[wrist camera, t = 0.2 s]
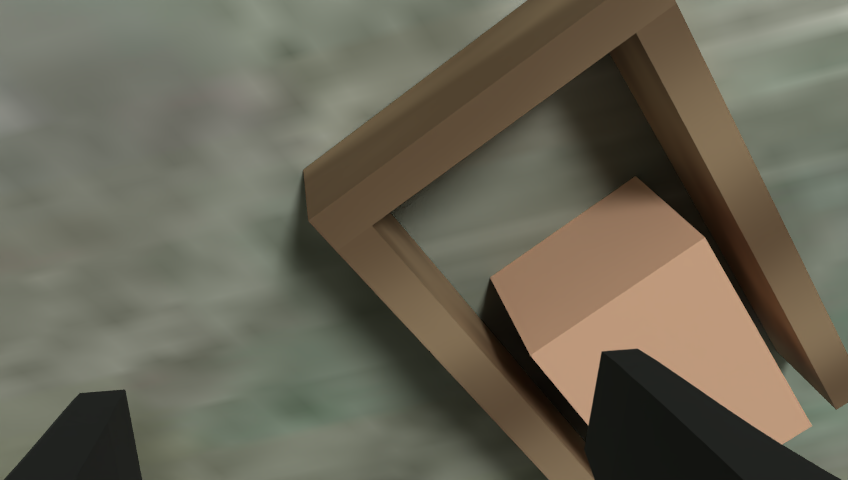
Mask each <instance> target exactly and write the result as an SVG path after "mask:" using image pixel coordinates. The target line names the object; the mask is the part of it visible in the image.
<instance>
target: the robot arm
mask: <svg viewBox="0 0 848 480" xmlns="http://www.w3.org/2000/svg"><path fill="white" fill-rule="evenodd" d="M584 450H585V453H586V456H587V459H588V462H589V465H590V468H591V470H592V473H593V476H594V479H595V480H841V479H839V478H837V477H836V476H834V475H832V474H830V473H828V472H827V471H825V470H823V469H821V468H820V467H818V466H817V465H815V464H813V463H812V462H810V461H808V460H807V459H805V458H803V457H802V456H800V455H798V454H797V453H795V452H793V451H792V450H790V449H788V448H787V447H785V446H783V445H782V444H780V443H779V442H777V441H776V440H774V439H772V438H771V437H769V436H768V435H766V434H765V433H763V432H761V431H760V430H758V429H757V428H755V427H754V426H752V425H751V424H749V423H748V422H746V421H745V420H743V419H742V418H740V417H739V416H737V415H736V414H734V413H733V412H731V411H730V410H728V409H727V408H725V407H724V406H722V405H721V404H719V403H718V402H716V401H715V400H714V399H712V398H711V397H709V396H708V395H706V394H705V393H703V392H702V391H700V390H699V389H698V388H696V387H695V386H693V385H692V384H690V383H689V382H687V381H686V380H685V379H683V378H682V377H680V376H679V375H677V374H676V373H674V372H673V371H671V370H670V369H669V368H667V367H666V366H664V365H663V364H661V363H660V362H658V361H657V360H655V359H654V358H652V357H650V356H649V355H647V354H646V353H644V352H642V351H641V350H639V349H625V350H613V351H602V352H601V358H600V363H599V369H598V375H597V380H596V386H595V391H594V397H593V403H592V408H591V414H590V419H589V425H588V431H587V436H586V442H585V447H584ZM4 480H142V477H141V471H140V466H139V461H138V455H137V450H136V445H135V439H134V434H133V429H132V423H131V418H130V413H129V407H128V402H127V397H126V391H125V390H114V391H102V392H89V393H80V394H79V395H78V396H77V397H76V398H75V399H74V400H73V401H72V402H71V403H70V404H69V405H68V406H67V408H66V409H65V410H64V411H63V412H62V413H61V415H60V416H59V417H58V418H57V419H56V420H55V422H54V423H53V424H52V425H51V426H50V428H49V429H48V430H47V431H46V432H45V433H44V435H43V436H42V437H41V438H40V439H39V440H38V442H37V443H36V444H35V445H34V446H33V447H32V449H31V450H30V451H29V452H28V453H27V454H26V455H25V457H24V458H23V459H22V460H21V461H20V462H19V463H18V465H17V466H16V467H15V468H14V469H13V470H12V471H11V472H10V474H9V475H8V476H7V477H6V478H5V479H4Z"/></svg>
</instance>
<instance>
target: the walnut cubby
mask: <svg viewBox="0 0 848 480" xmlns="http://www.w3.org/2000/svg"><path fill="white" fill-rule="evenodd" d="M608 53H610V55H611V57H612V59H613V60H614V62H615V64H616V66H617V67H618V69H619V71H620V73H621V75H622V76H623V78H624V80H625V82H626V84H627V85H628V87H629V89H630V91H631V92H632V94H633V96H634V98H635V100H636V101H637V103H638V105H639V107H640V108H641V110H642V112H643V114H644V116H645V117H646V119H647V121H648V123H649V124H650V126H651V128H652V130H653V132H654V133H655V135H656V137H657V139H658V141H659V142H660V144H661V146H662V148H663V149H664V151H665V153H666V155H667V157H668V158H669V160H670V162H671V164H672V165H673V167H674V169H675V171H676V173H677V174H678V176H679V178H680V180H681V182H682V183H683V185H684V187H685V189H686V190H687V192H688V194H689V196H690V198H691V199H692V201H693V203H694V205H695V206H696V208H697V210H698V212H699V214H700V215H701V217H702V219H703V221H704V222H705V224H706V226H707V228H708V230H709V231H710V233H711V235H712V237H713V239H714V240H715V242H716V244H717V246H718V247H719V249H720V251H721V253H722V255H723V256H724V258H725V260H726V262H727V263H728V265H729V267H730V269H731V271H732V272H733V274H734V276H735V278H736V279H737V281H738V283H739V285H740V287H741V288H742V290H743V292H744V294H745V296H746V297H747V299H748V301H749V303H750V304H751V306H752V308H753V310H754V312H755V313H756V315H757V317H758V319H759V320H760V322H761V324H762V326H763V328H764V329H765V331H766V333H767V335H768V336H769V338H770V340H771V342H772V344H773V345H774V347H775V349H776V351H777V352H778V353H779V354H780V355H781V356H782V357H783V358H784V359H785V360H786V361H787V362H788V363H789V364H790V365H791V366H792V367H793V368H794V369H795V370H796V371H797V372H798V373H800V374H801V375H802V376H803V377H804V378H805V379H806V380H807V381H808V382H809V383H810V384H811V385H812V386H813V387H814V388H815V389H816V390H817V391H818V392H819V393H820V394H821V395H822V396H823V397H824V398H825V399H826V400H827V401H828V402H829V403H830V404H831V405H832V406H833V407H834V408H835V409H836V410H837V409H838V408H840V407H841V406H843V405H845V404H846V403H848V354H847V352H846V350H845V348H844V346H843V344H842V342H841V340H840V338H839V336H838V333H837V331H836V329H835V327H834V325H833V323H832V321H831V319H830V317H829V315H828V313H827V311H826V309H825V307H824V305H823V303H822V301H821V299H820V297H819V295H818V292H817V290H816V288H815V286H814V284H813V282H812V280H811V278H810V276H809V274H808V272H807V270H806V268H805V266H804V264H803V262H802V260H801V258H800V256H799V253H798V251H797V249H796V247H795V245H794V243H793V241H792V239H791V237H790V235H789V233H788V231H787V229H786V227H785V225H784V223H783V221H782V219H781V217H780V215H779V212H778V210H777V208H776V206H775V204H774V202H773V200H772V198H771V196H770V194H769V192H768V190H767V188H766V186H765V184H764V182H763V180H762V178H761V176H760V174H759V171H758V169H757V167H756V165H755V163H754V161H753V159H752V157H751V155H750V153H749V151H748V149H747V147H746V145H745V143H744V141H743V139H742V137H741V135H740V132H739V130H738V128H737V126H736V124H735V122H734V120H733V118H732V116H731V114H730V112H729V110H728V108H727V106H726V104H725V102H724V100H723V98H722V96H721V94H720V91H719V89H718V87H717V85H716V83H715V81H714V79H713V77H712V75H711V73H710V71H709V69H708V67H707V65H706V63H705V61H704V59H703V57H702V55H701V52H700V50H699V48H698V46H697V44H696V42H695V40H694V38H693V36H692V34H691V32H690V30H689V28H688V26H687V24H686V22H685V20H684V18H683V16H682V14H681V11H680V9H679V7H678V5H677V3H676V1H675V0H527V1H526V2H525V3H523V4H522V5H521V6H519V7H518V8H517V9H515V10H514V11H513V12H511V13H510V14H509V15H507V16H506V17H505V18H503V19H502V20H501V21H499V22H498V23H497V24H495V25H494V26H493V27H492V28H490V29H489V30H488V31H486V32H485V33H484V34H482V35H481V36H480V37H478V38H477V39H476V40H474V41H473V42H472V43H470V44H469V45H468V46H466V47H465V48H464V49H462V50H461V51H460V52H458V53H457V54H456V55H454V56H453V57H452V58H450V59H449V60H448V61H447V62H445V63H444V64H443V65H441V66H440V67H439V68H437V69H436V70H435V71H433V72H432V73H431V74H429V75H428V76H427V77H425V78H424V79H423V80H421V81H420V82H419V83H417V84H416V85H415V86H413V87H412V88H411V89H409V90H408V91H407V92H405V93H404V94H403V95H402V96H400V97H399V98H398V99H396V100H395V101H394V102H392V103H391V104H390V105H388V106H387V107H386V108H384V109H383V110H382V111H380V112H379V113H378V114H376V115H375V116H374V117H372V118H371V119H370V120H368V121H367V122H366V123H364V124H363V125H362V126H360V127H359V128H358V129H357V130H355V131H354V132H353V133H351V134H350V135H349V136H347V137H346V138H345V139H343V140H342V141H341V142H339V143H338V144H337V145H335V146H334V147H333V148H331V149H330V150H329V151H327V152H326V153H325V154H323V155H322V156H321V157H319V158H318V159H317V160H315V161H314V162H313V163H312V164H310V165H309V166H308V167H306V168H305V169H304V170H303V172H304V182H305V193H306V203H307V213H308V221H309V222H310V223H311V224H312V226H313V227H314V228H315V229H316V230H317V231H318V232H319V233H320V234H321V235H322V236H323V237H324V238H325V239H326V241H327V242H328V243H329V244H330V245H331V246H332V247H333V248H334V249H335V250H336V251H337V252H338V253H339V255H340V256H341V257H342V258H343V259H344V260H345V261H346V262H347V263H348V264H349V265H350V266H351V267H352V268H353V270H354V271H355V272H356V273H357V274H358V275H359V276H360V277H361V278H362V279H363V280H364V281H365V282H366V284H367V285H368V286H369V287H370V288H371V289H372V290H373V291H374V292H375V293H376V294H377V295H378V296H379V298H380V299H381V300H382V301H383V302H384V303H385V304H386V305H387V306H388V307H389V308H390V309H391V310H392V311H393V313H394V314H395V315H396V316H397V317H398V318H399V319H400V320H401V321H402V322H403V323H404V324H405V325H406V327H407V328H408V329H409V330H410V331H411V332H412V333H413V334H414V335H415V336H416V337H417V338H418V339H419V340H420V342H421V343H422V344H423V345H424V346H425V347H426V348H427V349H428V350H429V351H430V352H431V353H432V354H433V356H434V357H435V358H436V359H437V360H438V361H439V362H440V363H441V364H442V365H443V366H444V367H445V368H446V369H447V371H448V372H449V373H450V374H451V375H452V376H453V377H454V378H455V379H456V380H457V381H458V382H459V383H460V385H461V386H462V387H463V388H464V389H465V390H466V391H467V392H468V393H469V394H470V395H471V396H472V397H473V399H474V400H475V401H476V402H477V403H478V404H479V405H480V406H481V407H482V408H483V409H484V410H485V411H486V412H487V414H488V415H489V416H490V417H491V418H492V419H493V420H494V421H495V422H496V423H497V424H498V425H499V426H500V428H501V429H502V430H503V431H504V432H505V433H506V434H507V435H508V436H509V437H510V438H511V439H512V440H513V441H514V443H515V444H516V445H517V446H518V447H519V448H520V449H521V450H522V451H523V452H524V453H525V454H526V455H527V457H528V458H529V459H530V460H531V461H532V462H533V463H534V464H535V465H536V466H537V467H538V468H539V469H540V470H541V472H542V473H543V474H544V475H545V476H546V477H547V478H548V479H549V480H595V479H594V476H593V473H592V470H591V468H590V465H589V462H588V459H587V456H586V453H585V450H584V447H585V442H584V441H583V439H582V438H581V437H580V436H579V435H578V433H577V432H576V431H575V430H574V429H573V428H572V426H571V425H570V424H569V423H568V422H567V420H566V419H565V418H564V417H563V416H562V415H561V413H560V412H559V411H558V410H557V409H556V407H555V406H554V405H553V404H552V403H551V402H550V400H549V399H548V398H547V397H546V396H545V394H544V393H543V392H542V391H541V390H540V389H539V387H538V386H537V385H536V384H535V383H534V382H533V380H532V379H531V378H530V377H529V376H528V374H527V373H526V372H525V371H524V370H523V369H522V367H521V366H520V365H519V364H518V363H517V361H516V360H515V359H514V358H513V357H512V356H511V354H510V353H509V352H508V351H507V350H506V348H505V347H504V346H503V345H502V344H501V343H500V341H499V340H498V339H497V338H496V337H495V335H494V334H493V333H492V332H491V331H490V330H489V328H488V327H487V326H486V325H485V324H484V323H483V321H482V320H481V319H480V318H479V317H478V315H477V314H476V313H475V312H474V311H473V310H472V308H471V307H470V306H469V305H468V304H467V302H466V301H465V300H464V299H463V298H462V297H461V295H460V294H459V293H458V292H457V291H456V289H455V288H454V287H453V286H452V285H451V284H450V282H449V281H448V280H447V279H446V278H445V276H444V275H443V274H442V273H441V272H440V271H439V269H438V268H437V267H436V266H435V265H434V264H433V262H432V261H431V260H430V259H429V258H428V256H427V255H426V254H425V253H424V252H423V251H422V249H421V248H420V247H419V246H418V245H417V243H416V242H415V241H414V240H413V239H412V238H411V236H410V235H409V234H408V233H407V232H406V230H405V229H404V228H403V227H402V226H401V225H400V223H399V222H398V221H397V220H396V219H395V217H394V216H393V215H392V214H391V213H390V212H391V211H393V210H394V209H395V208H397V207H398V206H400V205H401V204H402V203H404V202H405V201H406V200H408V199H409V198H411V197H412V196H413V195H415V194H416V193H417V192H419V191H420V190H421V189H423V188H424V187H426V186H427V185H428V184H430V183H431V182H432V181H434V180H435V179H437V178H438V177H439V176H441V175H442V174H443V173H445V172H446V171H447V170H449V169H450V168H452V167H453V166H454V165H456V164H457V163H458V162H460V161H461V160H463V159H464V158H465V157H467V156H468V155H469V154H471V153H472V152H474V151H475V150H476V149H478V148H479V147H480V146H482V145H483V144H484V143H486V142H487V141H489V140H490V139H491V138H493V137H494V136H495V135H497V134H498V133H500V132H501V131H502V130H504V129H505V128H506V127H508V126H509V125H511V124H512V123H513V122H515V121H516V120H517V119H519V118H520V117H521V116H523V115H524V114H526V113H527V112H528V111H530V110H531V109H532V108H534V107H535V106H537V105H538V104H539V103H541V102H542V101H543V100H545V99H546V98H547V97H549V96H550V95H552V94H553V93H554V92H556V91H557V90H558V89H560V88H561V87H563V86H564V85H565V84H567V83H568V82H569V81H571V80H572V79H574V78H575V77H576V76H578V75H579V74H580V73H582V72H583V71H584V70H586V69H587V68H589V67H590V66H591V65H593V64H594V63H595V62H597V61H598V60H600V59H601V58H602V57H604V56H605V55H606V54H608Z"/></svg>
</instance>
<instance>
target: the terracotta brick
mask: <svg viewBox="0 0 848 480" xmlns="http://www.w3.org/2000/svg"><path fill="white" fill-rule="evenodd" d="M490 278H491V280H492V282H493V284H494V286H495V288H496V290H497V292H498V294H499V296H500V298H501V300H502V302H503V304H504V306H505V308H506V309H507V311H508V313H509V315H510V317H511V319H512V321H513V323H514V325H515V327H516V329H517V331H518V333H519V335H520V337H521V339H522V340H523V342H524V344H525V346H526V348H527V350H528V352H529V354H530V356H531V357H532V358H533V359H534V361H535V362H536V363H537V364H538V365H539V367H540V368H541V369H542V370H543V371H544V373H545V374H546V375H547V376H548V377H549V379H550V380H551V381H552V382H553V384H554V385H555V386H556V387H557V388H558V390H559V391H560V392H561V393H562V394H563V396H564V397H565V398H566V399H567V400H568V402H569V403H570V404H571V405H572V406H573V408H574V409H575V410H576V411H577V413H578V414H579V415H580V416H581V417H582V419H583V420H584V421H585V422H586V423H587V425H589V419H590V414H591V408H592V403H593V397H594V391H595V386H596V380H597V375H598V369H599V363H600V358H601V352H602V351H613V350H625V349H639V350H641V351H642V352H644V353H646V354H647V355H649V356H650V357H652V358H654V359H655V360H657V361H658V362H660V363H661V364H663V365H664V366H666V367H667V368H669V369H670V370H671V371H673V372H674V373H676V374H677V375H679V376H680V377H682V378H683V379H685V380H686V381H687V382H689V383H690V384H692V385H693V386H695V387H696V388H698V389H699V390H700V391H702V392H703V393H705V394H706V395H708V396H709V397H711V398H712V399H714V400H715V401H716V402H718V403H719V404H721V405H722V406H724V407H725V408H727V409H728V410H730V411H731V412H733V413H734V414H736V415H737V416H739V417H740V418H742V419H743V420H745V421H746V422H748V423H749V424H751V425H752V426H754V427H755V428H757V429H758V430H760V431H761V432H763V433H765V434H766V435H768V436H769V437H771V438H772V439H774V440H776V441H777V442H779V443H780V444H784V443H785V442H787V441H788V440H790V439H792V438H793V437H795V436H796V435H798V434H800V433H801V432H803V431H805V430H806V429H808V428H809V427H811V426H812V425H811V423H810V421H809V420H808V418H807V416H806V414H805V413H804V411H803V409H802V407H801V405H800V404H799V402H798V400H797V398H796V397H795V395H794V393H793V391H792V390H791V388H790V386H789V384H788V383H787V381H786V379H785V377H784V376H783V374H782V372H781V370H780V369H779V367H778V365H777V363H776V362H775V360H774V358H773V356H772V354H771V353H770V351H769V349H768V347H767V346H766V344H765V342H764V340H763V339H762V337H761V335H760V333H759V332H758V330H757V328H756V326H755V325H754V323H753V321H752V319H751V318H750V316H749V314H748V312H747V310H746V309H745V307H744V305H743V303H742V302H741V300H740V298H739V296H738V295H737V293H736V291H735V289H734V288H733V286H732V284H731V282H730V281H729V279H728V277H727V275H726V274H725V272H724V270H723V268H722V267H721V265H720V263H719V261H718V259H717V258H716V256H715V254H714V252H713V251H712V249H711V247H710V245H709V244H708V242H707V240H706V238H705V237H704V236H703V235H702V234H701V233H699V232H698V231H697V230H696V229H695V228H694V227H693V226H691V225H690V224H689V223H688V222H687V221H686V220H685V219H684V218H682V217H681V216H680V215H679V214H678V213H677V212H676V211H675V210H673V209H672V208H671V207H670V206H669V205H668V204H667V203H665V202H664V201H663V200H662V199H661V198H660V197H659V196H658V195H656V194H655V193H654V192H653V191H652V190H651V189H650V188H649V187H647V186H646V185H645V184H644V183H643V182H642V181H641V180H639V179H638V178H637V177H636V176H635V177H633V178H632V179H630V180H629V181H628V182H626V183H625V184H623V185H622V186H620V187H619V188H618V189H616V190H615V191H613V192H612V193H610V194H609V195H608V196H606V197H605V198H603V199H602V200H600V201H599V202H598V203H596V204H595V205H593V206H592V207H590V208H589V209H588V210H586V211H585V212H583V213H582V214H580V215H579V216H578V217H576V218H575V219H573V220H572V221H570V222H569V223H567V224H566V225H565V226H563V227H562V228H560V229H559V230H557V231H556V232H555V233H553V234H552V235H550V236H549V237H547V238H546V239H545V240H543V241H542V242H540V243H539V244H537V245H536V246H535V247H533V248H532V249H530V250H529V251H527V252H526V253H525V254H523V255H522V256H520V257H519V258H517V259H516V260H514V261H513V262H512V263H510V264H509V265H507V266H506V267H504V268H503V269H502V270H500V271H499V272H497V273H496V274H494V275H493V276H492V277H490Z"/></svg>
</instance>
